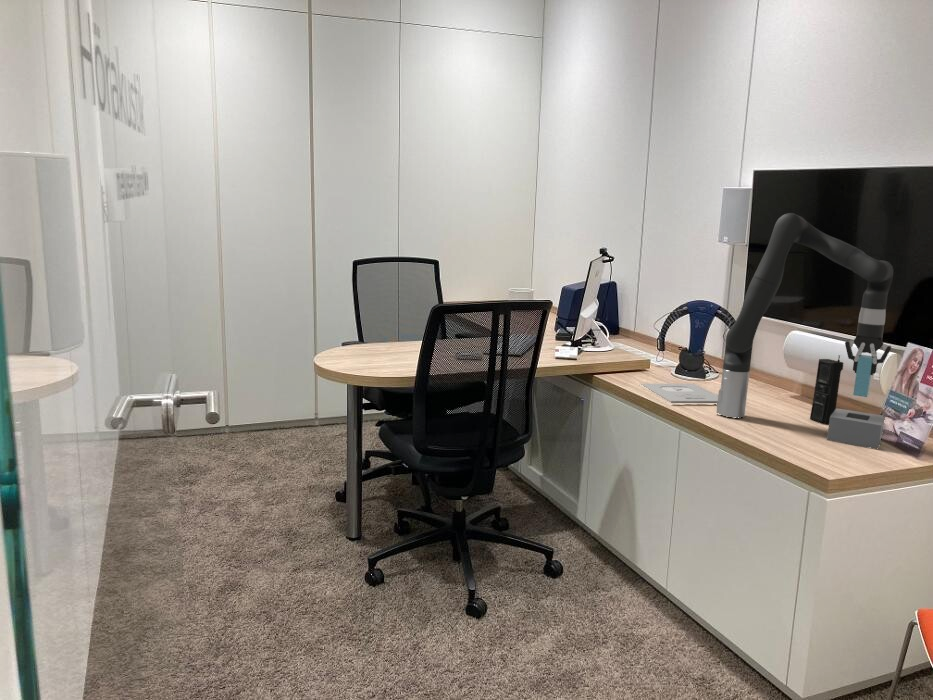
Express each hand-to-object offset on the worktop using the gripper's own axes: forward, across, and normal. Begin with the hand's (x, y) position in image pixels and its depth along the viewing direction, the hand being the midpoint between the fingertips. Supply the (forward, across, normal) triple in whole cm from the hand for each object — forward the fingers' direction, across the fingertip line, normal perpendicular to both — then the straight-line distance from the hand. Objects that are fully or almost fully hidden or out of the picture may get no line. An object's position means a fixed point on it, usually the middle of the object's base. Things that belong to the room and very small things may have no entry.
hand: (863, 373), depth 241 cm
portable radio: (+23, -13, +18) cm, 32 cm away
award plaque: (+23, -65, +21) cm, 72 cm away
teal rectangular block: (+7, 0, 0) cm, 7 cm away
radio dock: (+23, 0, 0) cm, 23 cm away
